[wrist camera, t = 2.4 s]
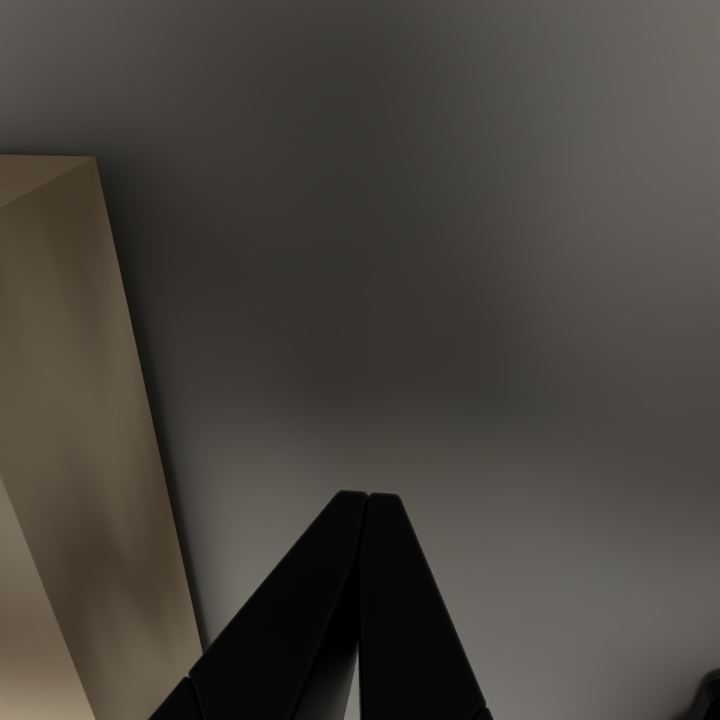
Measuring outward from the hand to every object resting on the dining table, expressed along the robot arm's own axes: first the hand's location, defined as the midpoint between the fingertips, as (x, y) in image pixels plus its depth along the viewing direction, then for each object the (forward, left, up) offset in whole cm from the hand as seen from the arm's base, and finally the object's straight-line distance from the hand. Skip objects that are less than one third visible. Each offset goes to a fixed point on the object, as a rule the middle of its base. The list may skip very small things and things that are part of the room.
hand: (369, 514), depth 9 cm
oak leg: (+6, +4, -3) cm, 8 cm away
